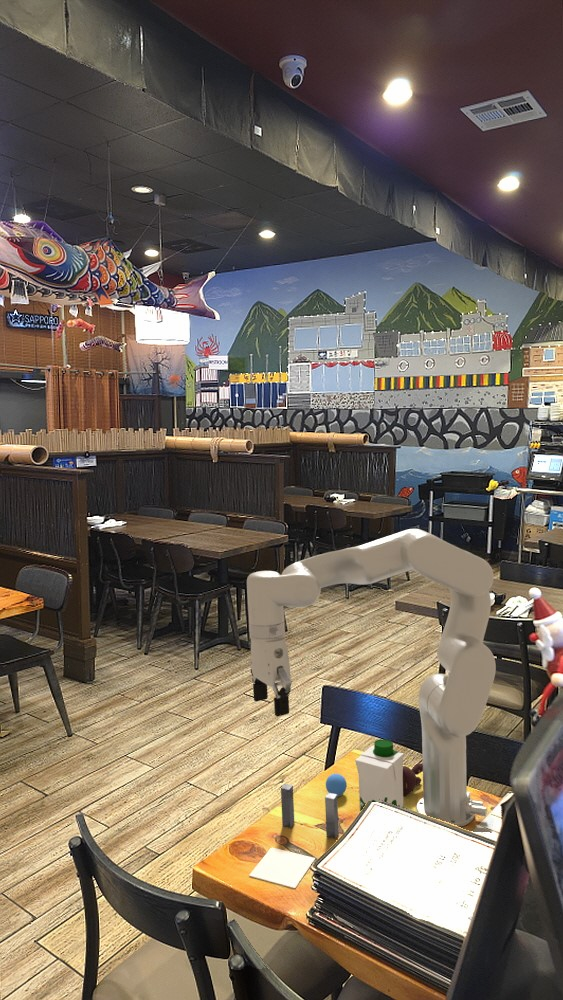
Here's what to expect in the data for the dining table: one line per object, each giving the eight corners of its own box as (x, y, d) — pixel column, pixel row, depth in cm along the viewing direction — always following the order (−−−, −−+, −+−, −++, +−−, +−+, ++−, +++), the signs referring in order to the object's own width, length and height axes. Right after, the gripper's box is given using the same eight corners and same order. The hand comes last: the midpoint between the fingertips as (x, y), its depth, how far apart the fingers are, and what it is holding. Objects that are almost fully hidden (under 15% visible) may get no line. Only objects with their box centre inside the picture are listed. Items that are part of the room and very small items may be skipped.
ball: (349, 791, 168) (349, 771, 167) (342, 802, 163) (341, 781, 163) (330, 787, 170) (329, 768, 170) (322, 797, 166) (322, 777, 165)
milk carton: (409, 832, 150) (407, 743, 148) (390, 854, 143) (387, 760, 141) (373, 820, 155) (370, 734, 153) (353, 841, 148) (350, 750, 146)
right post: (338, 834, 151) (337, 794, 150) (335, 839, 149) (333, 799, 148) (330, 832, 151) (328, 792, 151) (326, 837, 150) (325, 797, 149)
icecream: (391, 785, 158) (436, 770, 166) (369, 765, 163) (415, 752, 172) (384, 811, 159) (430, 795, 168) (363, 790, 165) (408, 776, 174)
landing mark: (315, 859, 142) (315, 858, 142) (295, 888, 133) (295, 887, 133) (271, 848, 146) (271, 847, 146) (249, 876, 138) (248, 875, 138)
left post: (294, 823, 155) (292, 785, 154) (290, 828, 153) (289, 789, 152) (286, 822, 156) (284, 783, 155) (282, 826, 154) (280, 788, 153)
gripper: (302, 636, 142) (306, 716, 144) (264, 618, 158) (268, 691, 159) (270, 643, 139) (274, 725, 141) (234, 623, 154) (238, 698, 156)
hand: (271, 707), depth 150 cm, fingers open, 9 cm apart
